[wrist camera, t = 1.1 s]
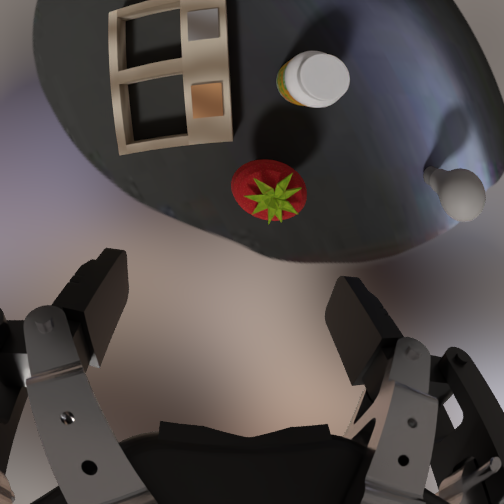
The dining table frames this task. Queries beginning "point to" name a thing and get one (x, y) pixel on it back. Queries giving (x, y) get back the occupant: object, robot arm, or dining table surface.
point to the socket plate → (190, 65)
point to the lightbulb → (457, 192)
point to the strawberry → (269, 190)
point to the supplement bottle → (313, 79)
